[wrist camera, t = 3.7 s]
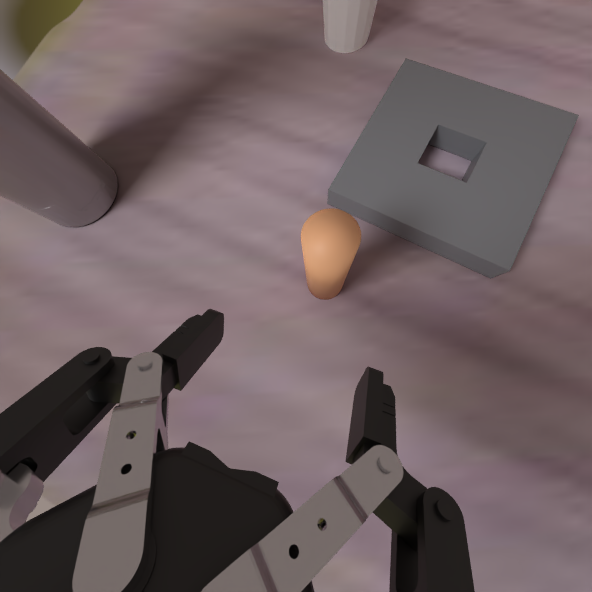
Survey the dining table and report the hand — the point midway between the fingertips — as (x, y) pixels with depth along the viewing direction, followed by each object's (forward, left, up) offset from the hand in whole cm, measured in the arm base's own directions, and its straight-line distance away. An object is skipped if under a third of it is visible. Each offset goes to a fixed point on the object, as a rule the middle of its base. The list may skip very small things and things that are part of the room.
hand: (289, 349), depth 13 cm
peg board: (+4, +24, -12) cm, 27 cm away
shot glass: (-14, +37, -12) cm, 41 cm away
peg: (-1, +7, -12) cm, 14 cm away
